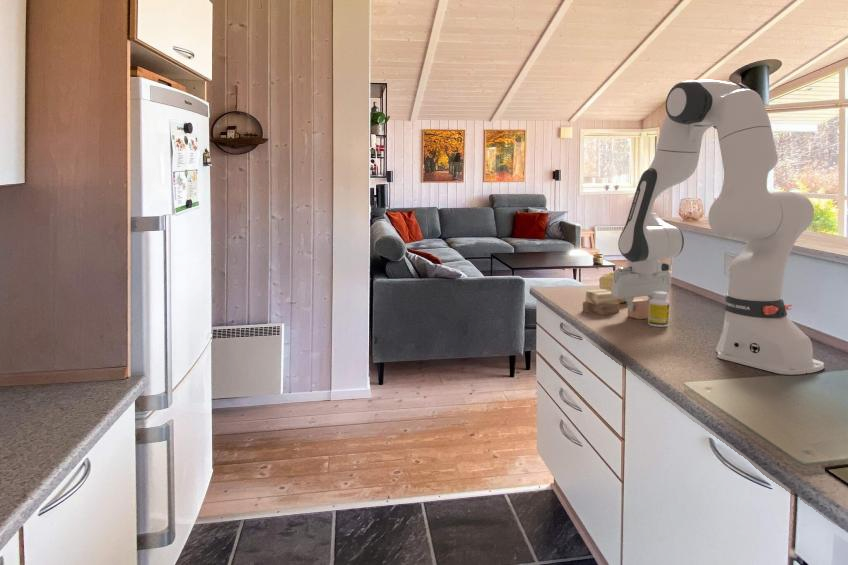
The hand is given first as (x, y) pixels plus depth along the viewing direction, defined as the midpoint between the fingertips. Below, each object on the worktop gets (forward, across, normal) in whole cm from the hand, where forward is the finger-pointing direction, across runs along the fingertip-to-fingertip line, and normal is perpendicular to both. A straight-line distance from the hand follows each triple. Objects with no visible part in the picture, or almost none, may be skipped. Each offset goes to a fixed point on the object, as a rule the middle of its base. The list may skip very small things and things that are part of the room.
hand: (640, 310), depth 177 cm
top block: (-1, -6, +11) cm, 13 cm away
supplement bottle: (+2, -2, -10) cm, 10 cm away
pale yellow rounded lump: (+2, +10, +22) cm, 24 cm away
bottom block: (+3, -6, +11) cm, 13 cm away
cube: (+2, 0, 0) cm, 2 cm away
